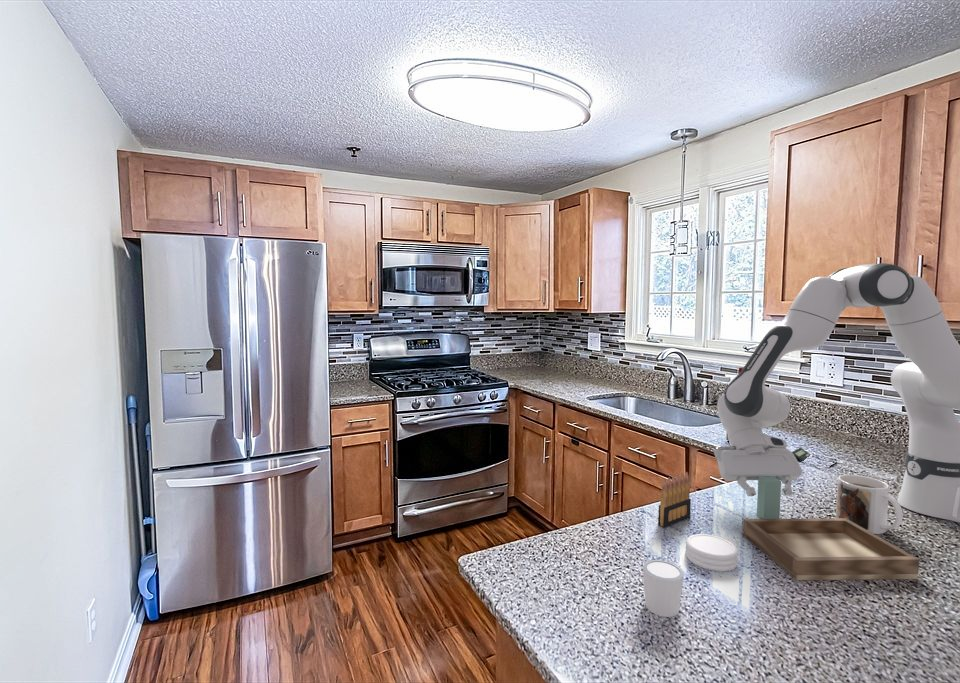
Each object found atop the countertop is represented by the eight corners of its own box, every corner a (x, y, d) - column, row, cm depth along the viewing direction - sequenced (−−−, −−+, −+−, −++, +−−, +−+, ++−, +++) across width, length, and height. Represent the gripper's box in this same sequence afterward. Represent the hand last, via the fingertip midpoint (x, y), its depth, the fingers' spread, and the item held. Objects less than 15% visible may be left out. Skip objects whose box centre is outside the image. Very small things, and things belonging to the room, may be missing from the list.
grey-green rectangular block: (771, 514, 124) (773, 476, 123) (779, 519, 121) (781, 480, 120) (756, 514, 124) (758, 476, 123) (763, 519, 121) (765, 481, 120)
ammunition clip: (664, 528, 116) (665, 480, 115) (657, 525, 118) (659, 477, 117) (690, 518, 122) (692, 472, 121) (684, 515, 123) (685, 469, 123)
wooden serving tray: (844, 534, 113) (845, 518, 113) (917, 578, 95) (919, 559, 94) (742, 535, 112) (743, 519, 112) (796, 580, 94) (797, 560, 94)
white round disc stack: (734, 578, 95) (735, 561, 95) (681, 563, 100) (681, 547, 100) (739, 556, 103) (740, 540, 103) (689, 544, 109) (690, 529, 108)
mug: (878, 520, 121) (881, 477, 120) (902, 542, 109) (906, 494, 109) (829, 514, 124) (831, 472, 123) (847, 534, 113) (850, 489, 112)
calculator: (828, 469, 160) (829, 460, 160) (789, 460, 169) (789, 452, 169) (837, 463, 166) (837, 454, 166) (798, 455, 175) (799, 447, 175)
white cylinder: (635, 596, 89) (636, 559, 88) (671, 594, 89) (672, 558, 89) (651, 620, 82) (653, 581, 81) (690, 618, 82) (691, 579, 82)
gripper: (716, 440, 128) (735, 490, 119) (791, 440, 128) (816, 489, 119) (707, 451, 133) (724, 500, 123) (780, 451, 133) (802, 500, 124)
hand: (770, 495), depth 121 cm, fingers open, 8 cm apart
